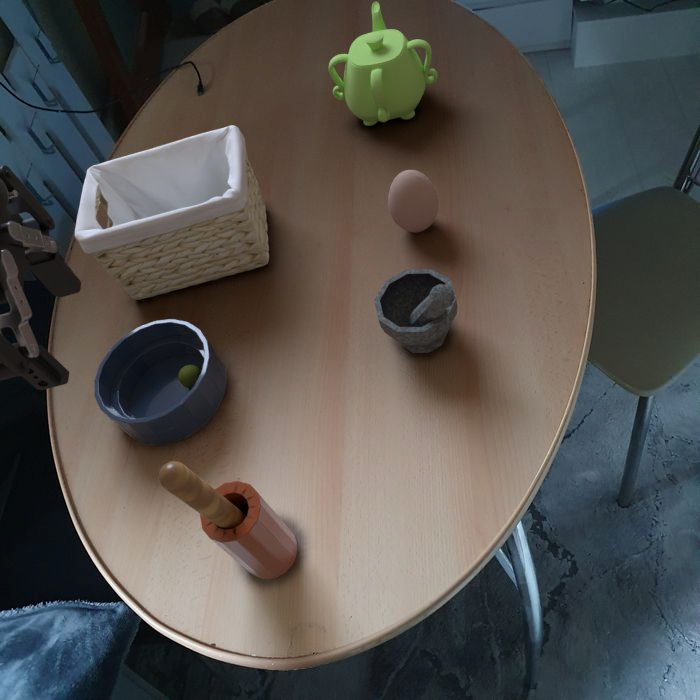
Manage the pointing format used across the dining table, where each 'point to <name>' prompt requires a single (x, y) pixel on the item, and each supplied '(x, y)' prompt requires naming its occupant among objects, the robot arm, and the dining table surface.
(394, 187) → the egg
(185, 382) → the olive
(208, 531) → the crock
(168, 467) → the stick
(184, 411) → the bowl
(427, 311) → the mortar and pestle
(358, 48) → the teapot
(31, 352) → the robot arm
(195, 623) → the dining table surface
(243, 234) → the basket
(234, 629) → the dining table surface
